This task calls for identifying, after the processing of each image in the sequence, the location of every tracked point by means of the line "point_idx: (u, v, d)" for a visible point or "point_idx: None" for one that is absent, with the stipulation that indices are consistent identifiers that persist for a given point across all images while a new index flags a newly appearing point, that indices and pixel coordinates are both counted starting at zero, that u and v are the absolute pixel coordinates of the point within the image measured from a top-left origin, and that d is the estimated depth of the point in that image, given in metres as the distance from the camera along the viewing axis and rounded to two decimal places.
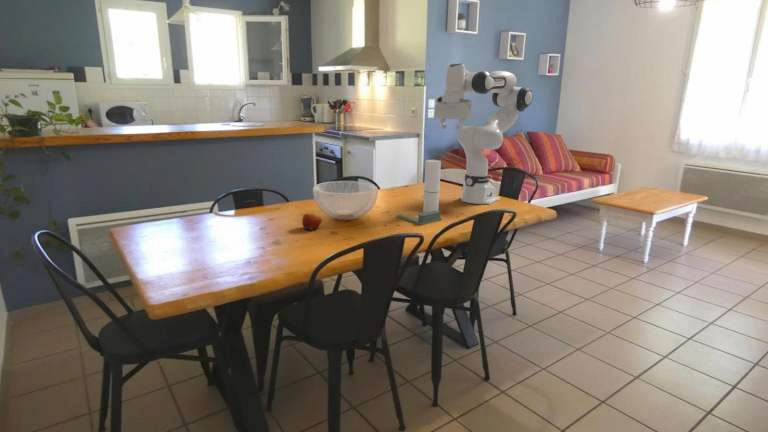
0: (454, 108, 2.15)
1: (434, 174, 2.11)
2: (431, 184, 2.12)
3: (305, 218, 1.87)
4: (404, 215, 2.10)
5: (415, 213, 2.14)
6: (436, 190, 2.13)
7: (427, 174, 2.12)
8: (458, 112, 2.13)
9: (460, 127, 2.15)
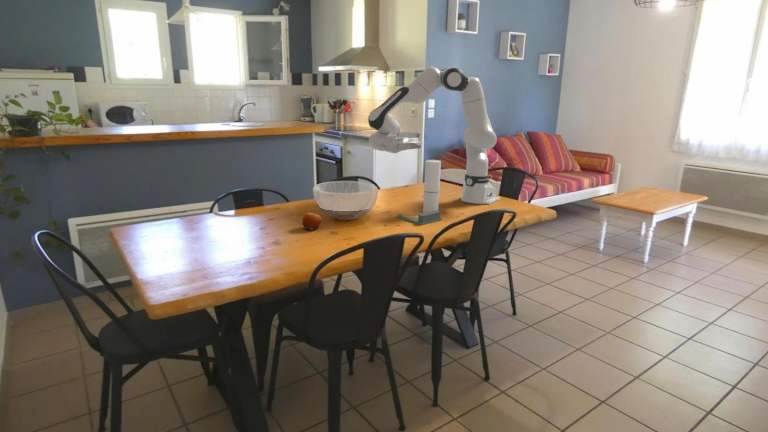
0: None
1: (434, 174, 2.11)
2: (431, 184, 2.12)
3: (305, 218, 1.87)
4: (404, 215, 2.10)
5: (415, 213, 2.14)
6: (436, 190, 2.13)
7: (427, 174, 2.12)
8: None
9: (403, 147, 2.18)
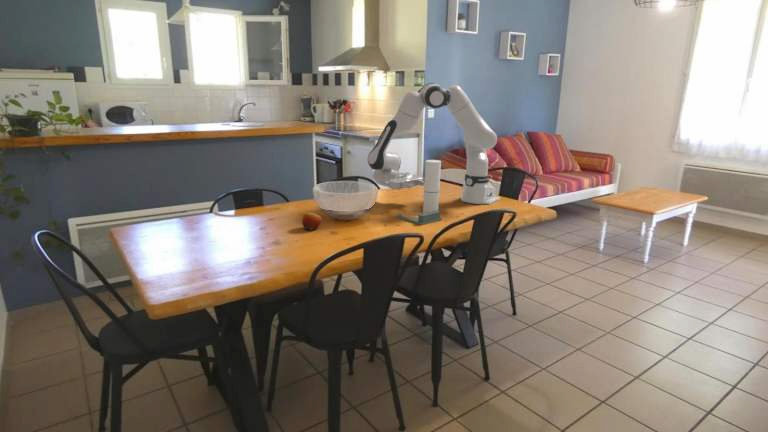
0: None
1: (434, 174, 2.11)
2: (431, 184, 2.12)
3: (305, 218, 1.87)
4: (404, 215, 2.10)
5: (415, 213, 2.14)
6: (436, 190, 2.13)
7: (427, 174, 2.12)
8: None
9: (407, 186, 2.20)
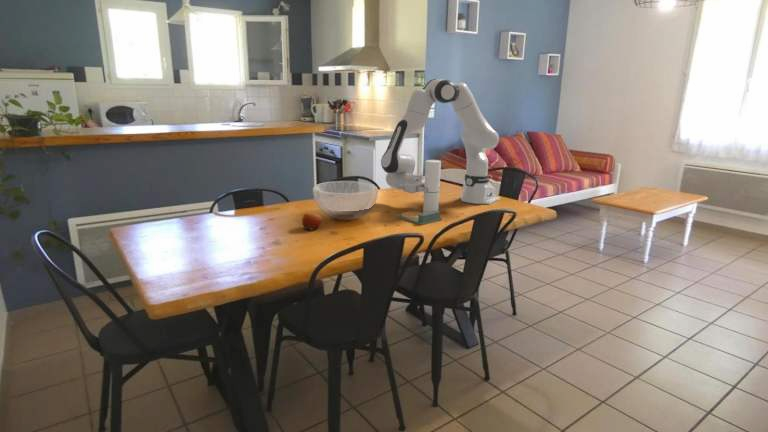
0: None
1: (434, 174, 2.11)
2: (431, 184, 2.12)
3: (305, 218, 1.87)
4: (404, 215, 2.10)
5: (415, 213, 2.14)
6: (436, 190, 2.13)
7: (427, 174, 2.12)
8: None
9: (424, 189, 2.13)
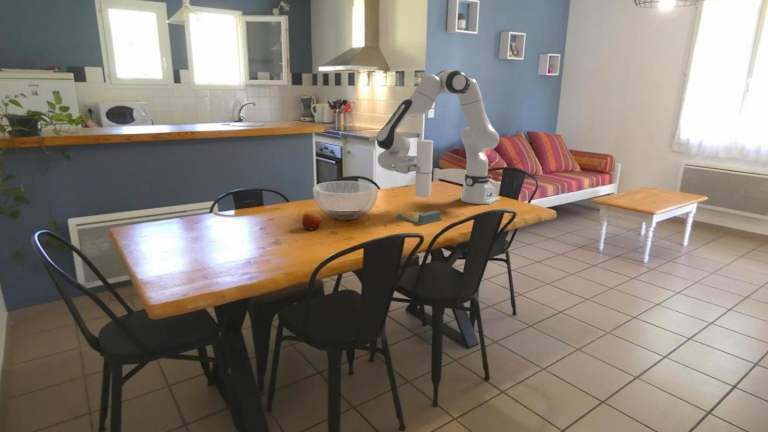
0: None
1: (426, 154, 2.04)
2: (423, 164, 2.06)
3: (305, 218, 1.87)
4: (404, 215, 2.10)
5: (415, 213, 2.14)
6: (428, 171, 2.07)
7: (418, 154, 2.06)
8: None
9: (416, 169, 2.06)
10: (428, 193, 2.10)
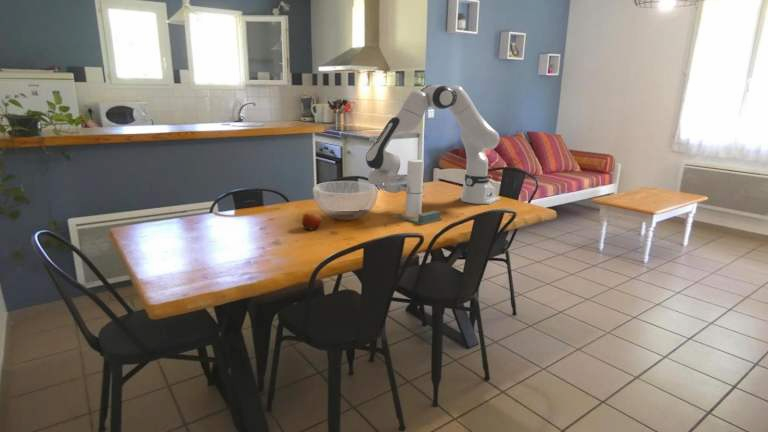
0: None
1: (416, 175, 2.03)
2: (413, 185, 2.04)
3: (305, 218, 1.87)
4: (404, 215, 2.10)
5: None
6: (419, 191, 2.05)
7: (409, 174, 2.04)
8: None
9: (405, 189, 2.04)
10: (418, 213, 2.08)
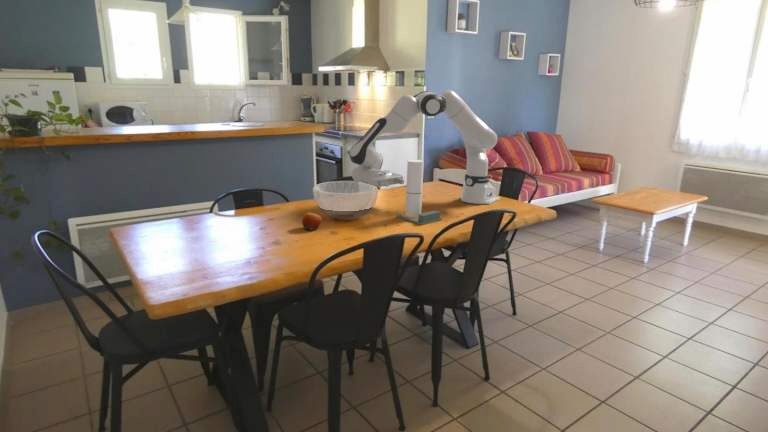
0: None
1: (416, 175, 2.02)
2: (413, 185, 2.04)
3: (305, 218, 1.87)
4: (404, 215, 2.10)
5: None
6: (418, 191, 2.05)
7: (409, 174, 2.04)
8: None
9: (385, 184, 2.13)
10: (418, 213, 2.08)
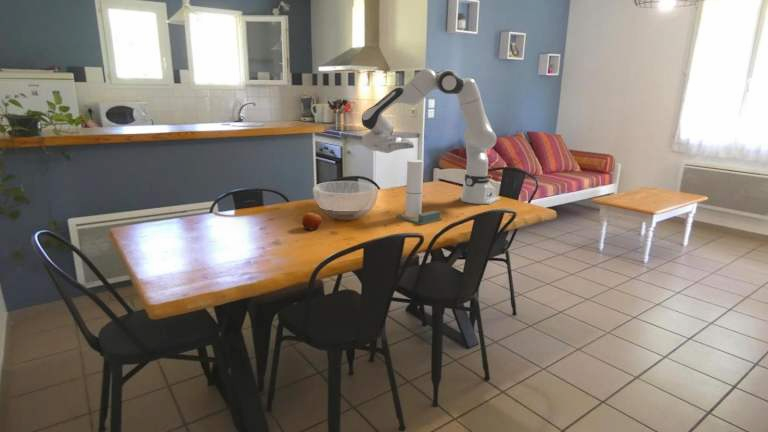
0: None
1: (416, 175, 2.02)
2: (413, 185, 2.04)
3: (305, 218, 1.87)
4: (404, 215, 2.10)
5: None
6: (418, 191, 2.05)
7: (409, 174, 2.04)
8: None
9: (396, 147, 2.17)
10: (418, 213, 2.08)
